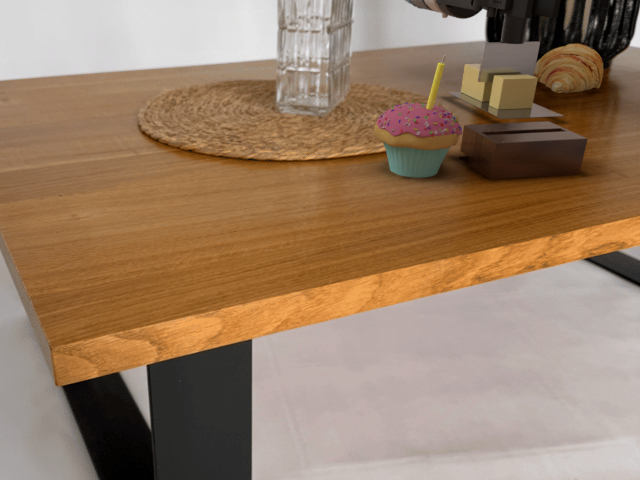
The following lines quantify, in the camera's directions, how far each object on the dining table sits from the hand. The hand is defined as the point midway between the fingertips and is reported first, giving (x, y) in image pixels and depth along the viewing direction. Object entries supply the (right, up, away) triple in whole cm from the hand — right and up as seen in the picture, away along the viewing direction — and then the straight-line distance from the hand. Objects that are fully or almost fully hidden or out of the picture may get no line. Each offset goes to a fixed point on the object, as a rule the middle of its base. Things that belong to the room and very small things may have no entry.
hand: (543, 6), depth 84 cm
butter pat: (-1, -10, +9) cm, 13 cm away
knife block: (-7, -22, -11) cm, 26 cm away
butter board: (-1, -10, +11) cm, 15 cm away
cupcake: (-19, -23, -13) cm, 32 cm away
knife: (-1, -6, +9) cm, 11 cm away
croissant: (+14, -3, +26) cm, 30 cm away
